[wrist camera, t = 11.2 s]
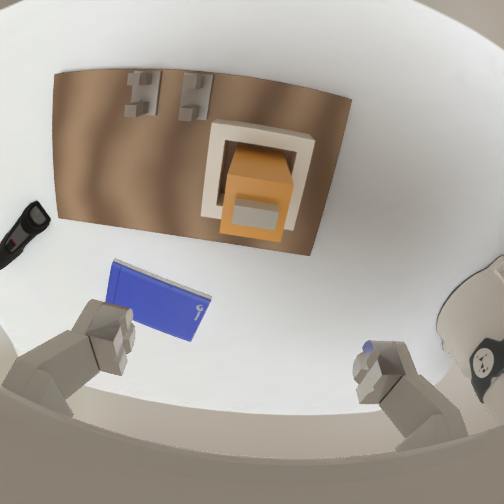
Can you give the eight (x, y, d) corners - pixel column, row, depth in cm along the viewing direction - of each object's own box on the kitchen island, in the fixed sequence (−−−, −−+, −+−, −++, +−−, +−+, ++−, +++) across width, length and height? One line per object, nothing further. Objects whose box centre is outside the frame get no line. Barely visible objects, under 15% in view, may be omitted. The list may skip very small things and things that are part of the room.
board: (348, 98, 24) (364, 102, 20) (308, 249, 32) (314, 276, 28) (61, 73, 22) (33, 76, 18) (63, 213, 30) (42, 233, 26)
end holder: (309, 134, 25) (315, 140, 22) (290, 215, 29) (293, 230, 26) (216, 118, 24) (211, 122, 22) (205, 202, 28) (200, 216, 26)
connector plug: (283, 151, 26) (296, 192, 17) (274, 193, 28) (281, 252, 19) (237, 144, 25) (225, 180, 17) (230, 186, 28) (217, 242, 19)
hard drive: (210, 302, 35) (111, 263, 33) (190, 343, 39) (104, 309, 36) (212, 293, 36) (116, 255, 34) (192, 335, 40) (108, 302, 38)
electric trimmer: (-6, 249, 34) (-18, 260, 31) (37, 196, 30) (22, 208, 27) (8, 267, 36) (-3, 280, 33) (54, 220, 31) (40, 233, 29)
